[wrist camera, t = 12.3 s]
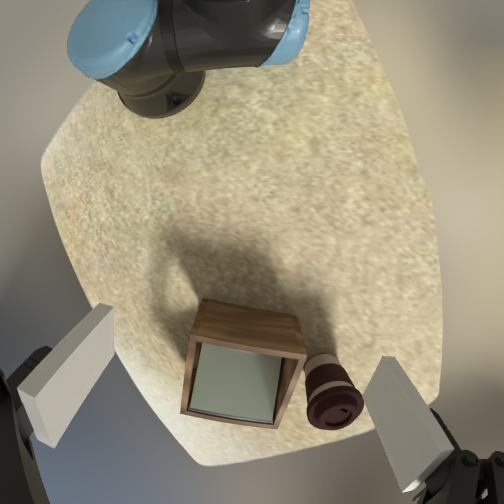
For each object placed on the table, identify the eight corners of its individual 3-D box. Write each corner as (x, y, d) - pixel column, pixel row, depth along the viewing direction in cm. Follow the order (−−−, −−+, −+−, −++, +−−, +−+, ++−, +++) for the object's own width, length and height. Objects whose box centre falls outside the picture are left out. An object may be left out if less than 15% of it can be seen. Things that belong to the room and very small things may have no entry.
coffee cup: (302, 389, 57) (313, 442, 43) (293, 355, 55) (304, 407, 40) (347, 376, 56) (367, 425, 42) (341, 340, 54) (365, 389, 40)
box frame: (203, 298, 52) (189, 333, 39) (296, 316, 52) (307, 354, 40) (191, 371, 56) (180, 413, 44) (273, 385, 57) (277, 429, 45)
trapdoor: (201, 341, 50) (201, 340, 49) (281, 356, 51) (283, 355, 50) (188, 409, 44) (188, 409, 43) (271, 422, 45) (272, 423, 44)
